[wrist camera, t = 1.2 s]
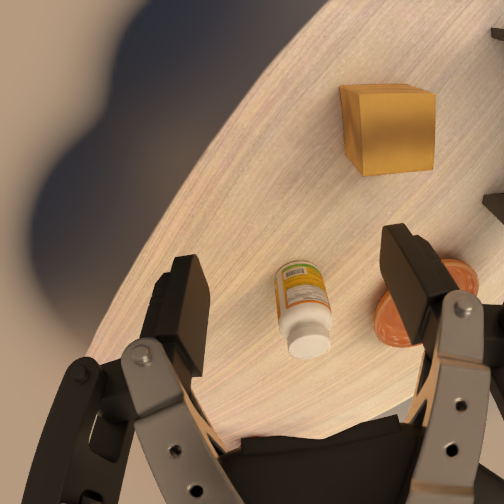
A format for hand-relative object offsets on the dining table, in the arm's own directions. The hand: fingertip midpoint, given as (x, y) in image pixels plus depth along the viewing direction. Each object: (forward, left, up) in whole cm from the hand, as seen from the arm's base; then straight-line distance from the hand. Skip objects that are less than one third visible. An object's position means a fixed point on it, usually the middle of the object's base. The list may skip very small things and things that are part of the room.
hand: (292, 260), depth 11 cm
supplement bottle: (+17, +1, -18) cm, 25 cm away
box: (0, +10, -18) cm, 20 cm away
